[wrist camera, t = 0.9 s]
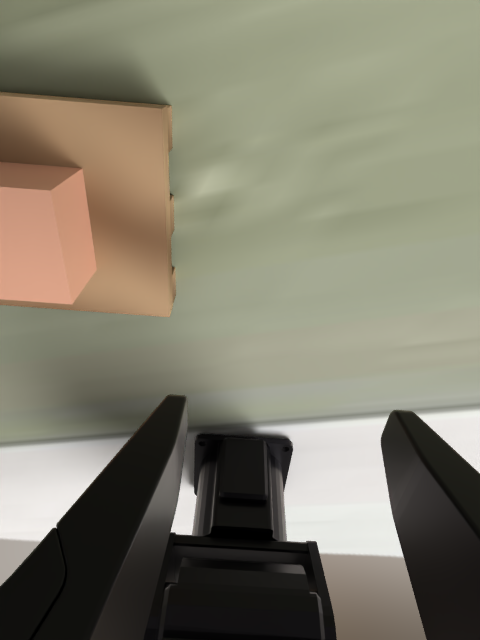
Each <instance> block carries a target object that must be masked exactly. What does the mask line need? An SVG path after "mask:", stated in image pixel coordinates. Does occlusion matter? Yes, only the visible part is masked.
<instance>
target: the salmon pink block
mask: <svg viewBox="0 0 480 640" xmlns="http://www.w3.org/2000/svg"><path fill="white" fill-rule="evenodd" d="M96 270H97V267H96V260H95V253H94V246H93V239H92V232H91V225H90V217H89V210H88V203H87V196H86V189H85V182H84V175H83V168H72V167H60V166H47V165H34V164H22V163H9V162H0V299H3V300H17V301H31V302H44V303H58V304H73V303H74V301H75V300H76V298H77V297H78V296H79V294H80V293H81V291H82V290H83V289H84V287H85V286H86V284H87V283H88V281H89V280H90V279H91V277H92V276H93V274H94V273H95V272H96Z"/></svg>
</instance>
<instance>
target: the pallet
mask: <svg viewBox="0 0 480 640" xmlns="http://www.w3.org/2000/svg"><path fill="white" fill-rule="evenodd" d="M171 149H172V110H171V106H170V105H158V104H146V103H133V102H121V101H108V100H96V99H83V98H71V97H59V96H46V95H34V94H21V93H9V92H0V162H9V163H22V164H34V165H47V166H60V167H72V168H83V175H84V182H85V189H86V196H87V203H88V210H89V217H90V225H91V232H92V239H93V246H94V253H95V260H96V267H97V270H96V272H95V273H94V274H93V276H92V277H91V279H90V280H89V281H88V283H87V284H86V286H85V287H84V289H83V290H82V291H81V293H80V294H79V296H78V297H77V298H76V300H75V301H74V303H73V304H58V303H44V302H31V301H17V300H3V299H0V305H10V306H24V307H38V308H52V309H65V310H79V311H93V312H107V313H120V314H134V315H148V316H162V317H170V313H171V310H172V307H173V302H174V299H175V296H176V285H175V267H172V261H171V235H172V233H173V231H174V198H173V195H170V190H169V155H168V153H169V152H170V150H171Z"/></svg>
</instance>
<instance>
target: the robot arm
mask: <svg viewBox="0 0 480 640" xmlns="http://www.w3.org/2000/svg"><path fill="white" fill-rule="evenodd" d="M187 427H188V400H187V397H186V396H184V395H168V396H166V397H165V399H164V400H163V401H162V402H161V403H160V404H159V406H158V407H157V408H156V409H155V410H154V411H153V412H152V414H151V415H150V416H149V417H148V418H147V419H146V421H145V422H144V423H143V424H142V425H141V426H140V428H139V429H138V430H137V431H136V432H135V433H134V435H133V436H132V437H131V438H130V439H129V440H128V442H127V443H126V444H125V445H124V446H123V447H122V449H121V450H120V451H119V452H118V453H117V454H116V456H115V457H114V458H113V459H112V460H111V461H110V462H109V464H108V465H107V466H106V467H105V468H104V469H103V471H102V472H101V473H100V474H99V475H98V476H97V478H96V479H95V480H94V481H93V482H92V483H91V485H90V486H89V487H88V488H87V489H86V490H85V492H84V493H83V494H82V495H81V496H80V497H79V499H78V500H77V501H76V502H75V503H74V504H73V505H72V507H71V508H70V509H69V510H68V511H67V512H66V514H65V515H64V516H63V517H62V518H61V519H60V521H59V522H58V523H57V525H56V527H57V528H53V529H52V530H51V531H50V532H49V533H48V534H47V535H46V537H45V538H44V539H43V540H42V541H41V542H40V544H39V545H38V546H37V547H36V548H35V549H34V550H33V552H32V553H31V554H30V555H29V556H28V557H27V558H26V559H25V560H24V562H23V563H22V564H21V565H20V566H19V567H18V568H17V569H16V570H15V572H14V573H13V574H12V575H11V576H10V577H9V578H8V579H7V580H6V581H5V582H4V583H3V584H2V585H1V586H0V640H337V639H336V629H335V622H334V615H333V610H332V605H331V601H330V597H329V593H328V588H327V584H326V580H325V576H324V571H323V568H322V563H321V559H320V555H319V551H318V546H317V542H316V541H306V542H290V541H287V536H286V521H285V507H284V488H285V484H286V479H287V475H288V470H289V465H290V461H291V456H292V452H293V445H292V442H291V441H290V440H287V439H273V438H258V437H243V436H228V435H213V434H199V435H197V436H196V438H195V468H194V493H195V495H196V496H197V499H196V508H195V516H194V524H193V532H192V535H177V534H176V533H173V532H170V531H171V527H172V523H173V519H174V515H175V511H176V507H177V502H178V496H179V490H180V483H181V475H182V467H183V460H184V452H185V444H186V436H187ZM381 448H382V454H383V461H384V467H385V473H386V479H387V485H388V491H389V498H390V504H391V509H392V514H393V518H394V522H395V526H396V530H397V534H398V537H399V541H400V545H401V548H402V552H403V555H404V559H405V562H406V566H407V570H408V573H409V577H410V581H411V584H412V588H413V591H414V595H415V599H416V602H417V606H418V610H419V613H420V617H421V620H422V624H423V628H424V631H425V635H426V639H427V640H480V473H479V472H477V471H476V470H475V469H474V468H473V467H472V466H471V465H470V464H469V463H468V462H467V461H466V460H465V459H464V458H462V457H461V456H460V455H459V454H458V453H457V452H456V451H455V450H454V449H453V448H452V447H451V446H450V445H448V444H447V443H446V442H445V441H444V440H443V439H442V438H441V437H440V436H439V435H438V434H437V433H436V432H434V431H433V430H432V429H431V428H430V427H429V426H428V425H427V424H426V423H425V422H424V421H423V420H422V419H420V418H419V417H418V416H417V415H416V414H415V413H414V412H412V411H404V410H393V411H392V412H391V413H390V415H389V418H388V420H387V423H386V425H385V428H384V431H383V433H382V436H381Z"/></svg>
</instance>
